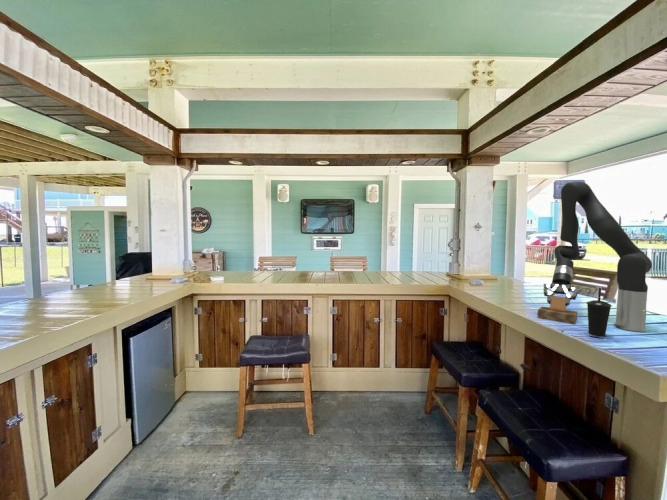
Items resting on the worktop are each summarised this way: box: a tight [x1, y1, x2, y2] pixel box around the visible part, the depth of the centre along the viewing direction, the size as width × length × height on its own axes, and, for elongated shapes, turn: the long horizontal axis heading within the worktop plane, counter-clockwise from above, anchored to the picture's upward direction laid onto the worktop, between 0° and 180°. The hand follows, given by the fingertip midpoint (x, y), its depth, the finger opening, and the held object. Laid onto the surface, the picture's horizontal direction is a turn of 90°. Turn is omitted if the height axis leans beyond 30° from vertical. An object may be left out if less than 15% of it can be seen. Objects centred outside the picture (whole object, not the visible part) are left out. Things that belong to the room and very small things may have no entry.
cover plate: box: [549, 295, 567, 312], centre depth 144 cm, size 6×2×10 cm, turn 46°
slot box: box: [537, 305, 578, 325], centre depth 144 cm, size 14×10×5 cm
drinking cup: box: [586, 287, 613, 340], centre depth 122 cm, size 8×8×20 cm
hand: (557, 303), depth 143 cm, fingers closed on cover plate, 6 cm apart
